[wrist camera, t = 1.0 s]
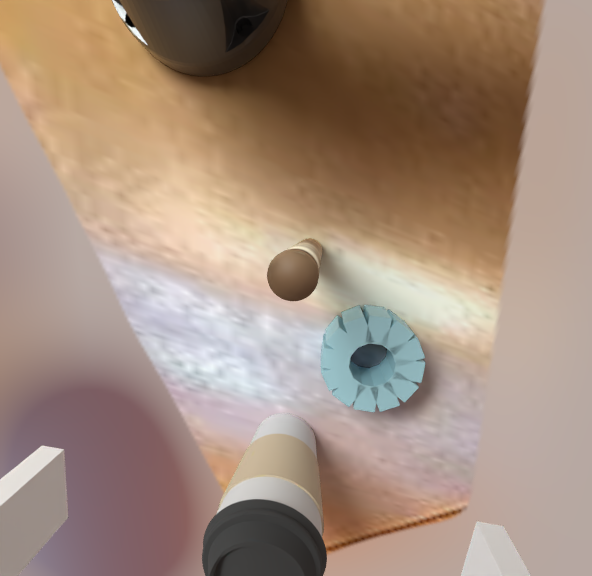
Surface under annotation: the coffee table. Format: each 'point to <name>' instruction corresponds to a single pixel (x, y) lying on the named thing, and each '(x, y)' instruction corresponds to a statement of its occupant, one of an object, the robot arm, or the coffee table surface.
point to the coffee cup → (271, 507)
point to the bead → (378, 379)
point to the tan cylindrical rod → (296, 270)
